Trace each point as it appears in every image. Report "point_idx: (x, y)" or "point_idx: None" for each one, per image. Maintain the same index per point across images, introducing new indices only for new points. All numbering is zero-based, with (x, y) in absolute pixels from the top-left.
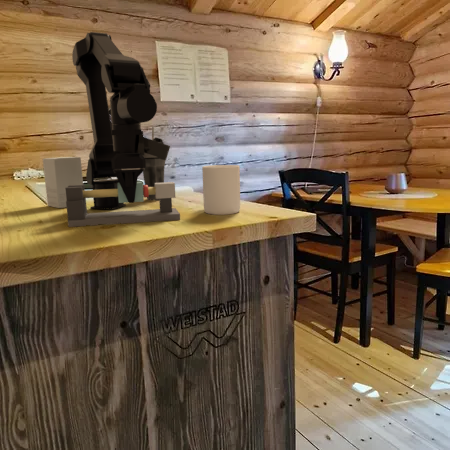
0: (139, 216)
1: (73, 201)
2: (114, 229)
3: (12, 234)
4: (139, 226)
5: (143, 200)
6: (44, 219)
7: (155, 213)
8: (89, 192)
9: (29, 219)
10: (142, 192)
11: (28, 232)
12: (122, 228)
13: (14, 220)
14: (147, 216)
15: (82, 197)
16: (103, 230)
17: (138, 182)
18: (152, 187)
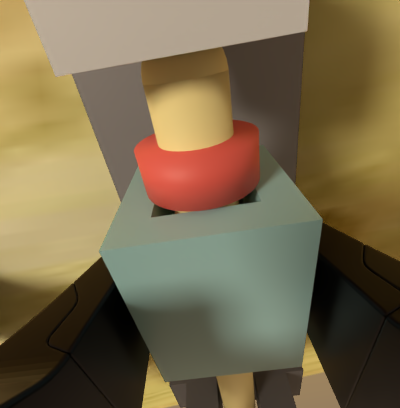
0: (297, 141)
1: (299, 382)
2: (384, 204)
3: (316, 367)
4: (381, 122)
5: (263, 148)
6: (157, 370)
7: (233, 57)
8: (253, 393)
9: (153, 387)
10: (284, 175)
11: (309, 355)
12: (382, 182)
13: (161, 400)
14: (298, 99)
15: (285, 382)
16: (380, 231)
17: (219, 266)
18: (208, 91)
